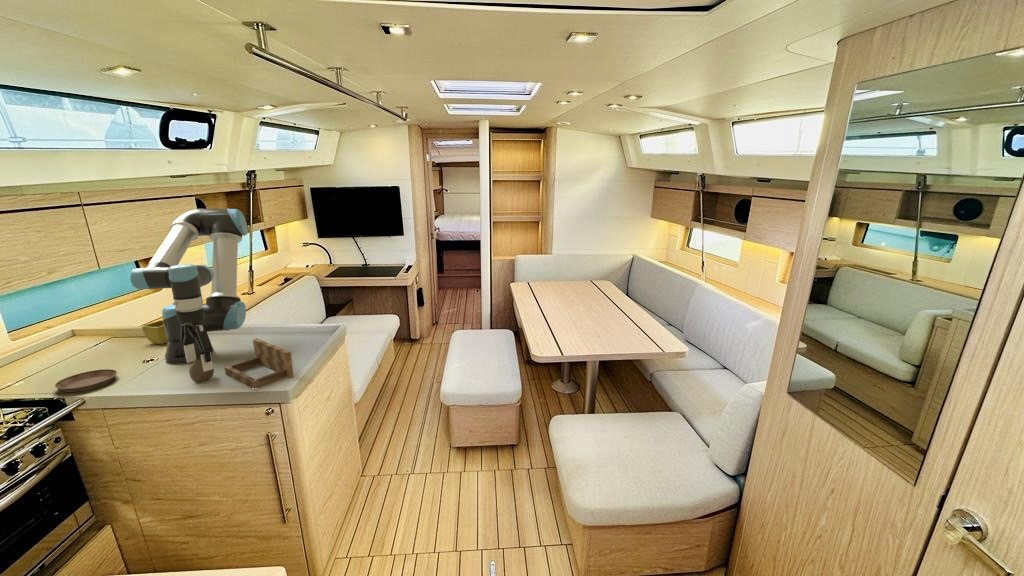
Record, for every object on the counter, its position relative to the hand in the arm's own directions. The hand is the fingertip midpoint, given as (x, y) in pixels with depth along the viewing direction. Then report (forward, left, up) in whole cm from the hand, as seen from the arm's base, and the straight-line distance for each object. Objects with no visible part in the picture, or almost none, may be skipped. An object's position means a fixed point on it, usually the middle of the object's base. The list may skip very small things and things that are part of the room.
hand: (199, 365), depth 137 cm
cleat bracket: (+12, +13, -6) cm, 19 cm away
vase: (0, 0, -6) cm, 6 cm away
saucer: (-29, -23, -7) cm, 38 cm away
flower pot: (-56, +6, -6) cm, 57 cm away
